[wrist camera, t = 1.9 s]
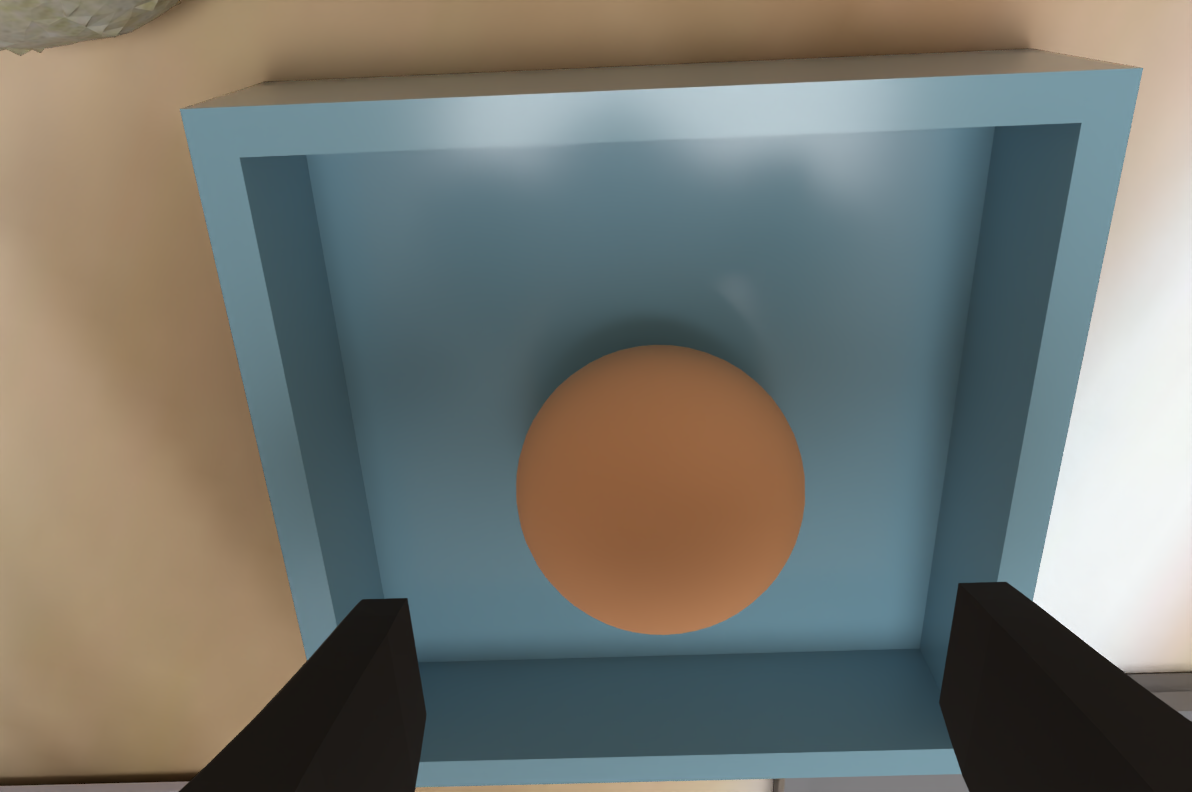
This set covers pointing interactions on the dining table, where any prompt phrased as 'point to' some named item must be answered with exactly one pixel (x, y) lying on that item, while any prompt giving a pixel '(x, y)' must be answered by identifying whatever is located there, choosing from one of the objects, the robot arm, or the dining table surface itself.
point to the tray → (1175, 689)
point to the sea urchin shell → (71, 21)
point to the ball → (660, 489)
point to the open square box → (681, 318)
